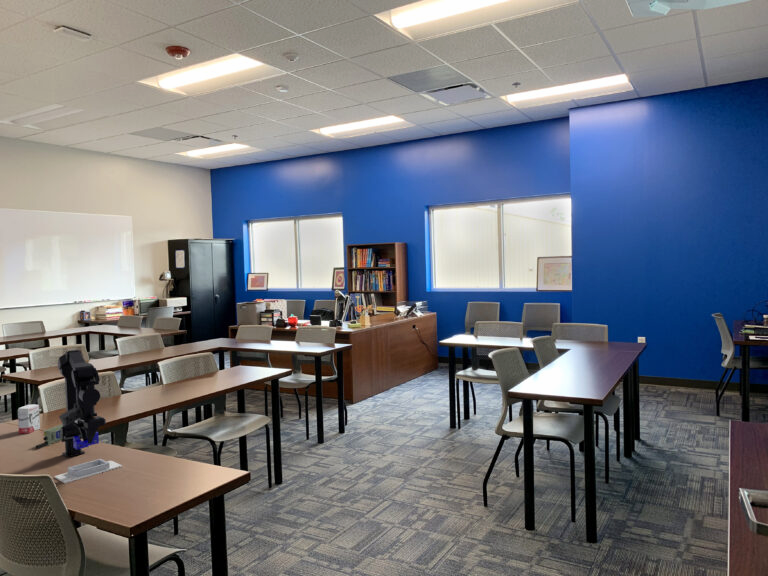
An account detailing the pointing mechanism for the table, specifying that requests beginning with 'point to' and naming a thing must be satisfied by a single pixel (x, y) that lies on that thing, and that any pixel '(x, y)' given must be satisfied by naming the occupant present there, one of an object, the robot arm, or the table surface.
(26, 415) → the ink box
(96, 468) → the desk organizer
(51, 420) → the table surface
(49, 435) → the handheld radio
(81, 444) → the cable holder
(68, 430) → the robot arm
